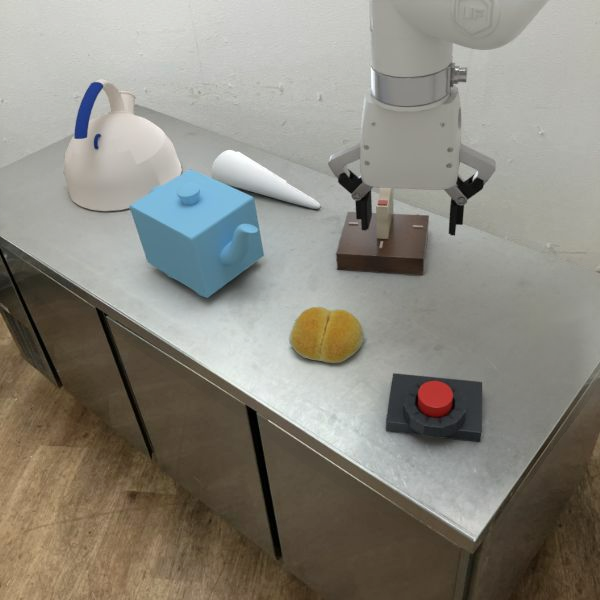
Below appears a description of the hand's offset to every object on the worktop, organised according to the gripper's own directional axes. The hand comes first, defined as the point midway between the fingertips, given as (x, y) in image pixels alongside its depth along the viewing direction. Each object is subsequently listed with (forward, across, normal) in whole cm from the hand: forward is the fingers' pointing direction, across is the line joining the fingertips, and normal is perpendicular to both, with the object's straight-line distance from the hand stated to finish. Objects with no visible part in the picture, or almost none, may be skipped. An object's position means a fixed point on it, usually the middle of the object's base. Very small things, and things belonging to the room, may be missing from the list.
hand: (409, 225), depth 73 cm
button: (+12, -5, +16) cm, 20 cm away
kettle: (+15, +53, -29) cm, 62 cm away
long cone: (+15, +26, -26) cm, 39 cm away
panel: (+15, +5, -15) cm, 22 cm away
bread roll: (+15, +10, +5) cm, 19 cm away
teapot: (+15, +28, -6) cm, 33 cm away
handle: (+12, +5, -16) cm, 20 cm away
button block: (+15, -4, +14) cm, 21 cm away
